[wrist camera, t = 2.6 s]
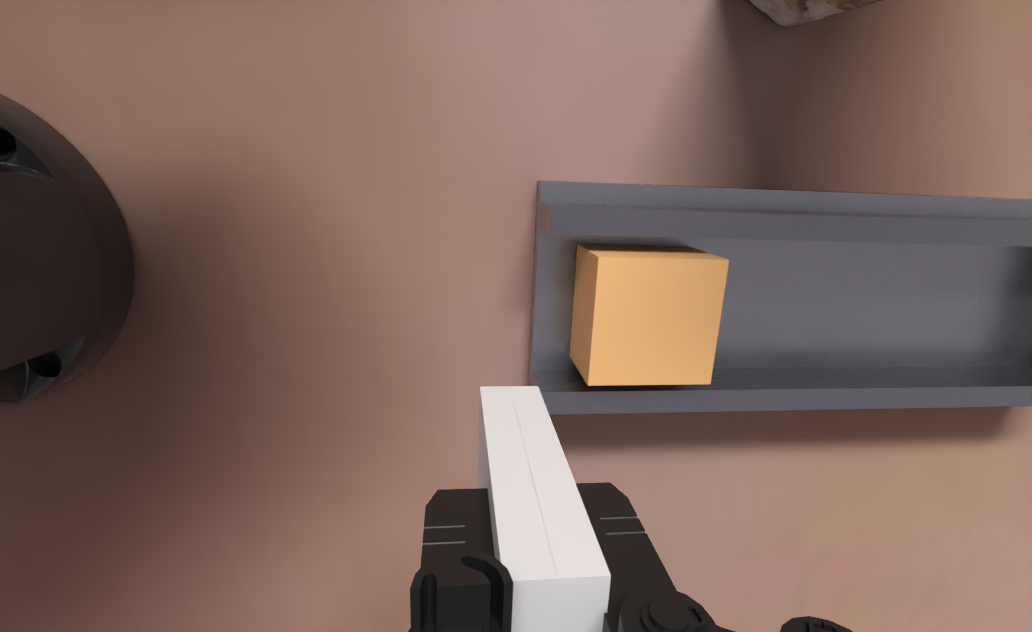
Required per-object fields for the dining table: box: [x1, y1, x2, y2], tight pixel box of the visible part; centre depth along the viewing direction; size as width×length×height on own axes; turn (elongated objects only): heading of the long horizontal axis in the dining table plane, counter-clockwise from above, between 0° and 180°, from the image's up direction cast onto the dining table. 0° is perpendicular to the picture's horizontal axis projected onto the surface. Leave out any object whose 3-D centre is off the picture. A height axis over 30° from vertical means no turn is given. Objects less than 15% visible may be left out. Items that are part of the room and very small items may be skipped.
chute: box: [528, 181, 1032, 415], centre depth 28 cm, size 32×12×4 cm, turn 88°
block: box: [569, 244, 729, 386], centre depth 26 cm, size 6×6×4 cm
